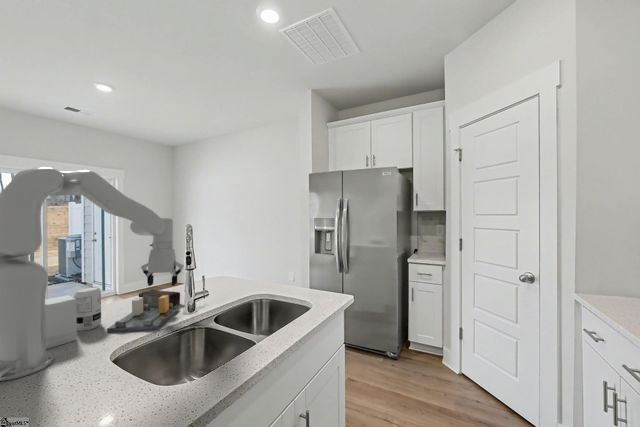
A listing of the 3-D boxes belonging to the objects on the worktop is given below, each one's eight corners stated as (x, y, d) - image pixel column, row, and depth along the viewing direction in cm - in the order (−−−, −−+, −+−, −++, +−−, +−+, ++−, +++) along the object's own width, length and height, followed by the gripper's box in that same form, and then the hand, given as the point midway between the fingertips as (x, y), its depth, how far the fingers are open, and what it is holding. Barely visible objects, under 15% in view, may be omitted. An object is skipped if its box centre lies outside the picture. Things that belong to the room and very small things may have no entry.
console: (157, 329, 105) (157, 320, 105) (107, 332, 103) (107, 323, 103) (179, 310, 126) (178, 302, 126) (137, 312, 124) (137, 304, 124)
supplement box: (77, 340, 98) (77, 298, 97) (42, 350, 90) (42, 305, 90) (69, 333, 103) (69, 294, 102) (35, 343, 95) (35, 301, 95)
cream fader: (138, 315, 115) (138, 299, 115) (132, 315, 115) (131, 300, 115) (143, 311, 119) (143, 296, 119) (137, 312, 119) (137, 297, 119)
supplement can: (70, 329, 107) (69, 291, 107) (95, 321, 114) (94, 285, 114) (80, 333, 103) (79, 293, 103) (105, 325, 110) (104, 288, 110)
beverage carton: (152, 300, 142) (152, 287, 142) (181, 304, 135) (181, 291, 135) (137, 305, 134) (137, 292, 134) (167, 309, 128) (167, 295, 128)
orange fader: (164, 312, 118) (164, 297, 118) (158, 313, 118) (158, 298, 118) (169, 309, 122) (168, 294, 122) (163, 309, 122) (162, 295, 122)
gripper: (137, 246, 115) (136, 287, 115) (180, 246, 117) (179, 286, 117) (146, 245, 122) (145, 283, 122) (186, 244, 124) (186, 282, 124)
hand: (162, 284), depth 119 cm, fingers open, 9 cm apart
